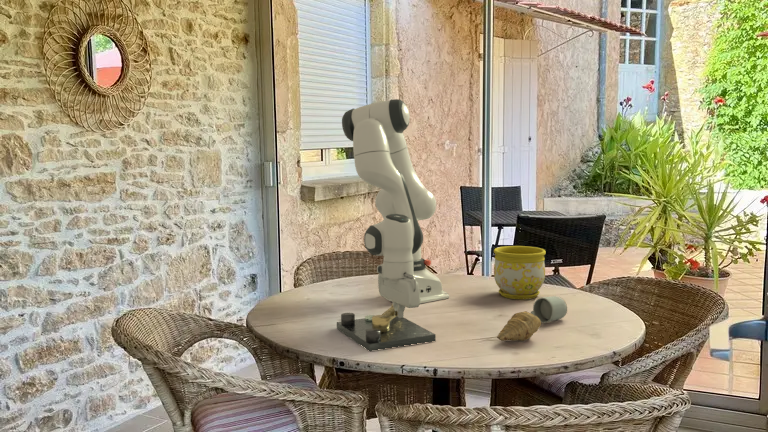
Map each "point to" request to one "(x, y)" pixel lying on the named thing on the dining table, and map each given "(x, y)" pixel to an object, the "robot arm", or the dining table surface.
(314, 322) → the dining table surface
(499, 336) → the seashell
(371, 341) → the base
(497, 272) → the flowerpot
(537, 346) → the dining table surface
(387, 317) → the lever
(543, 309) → the ceramic mug
